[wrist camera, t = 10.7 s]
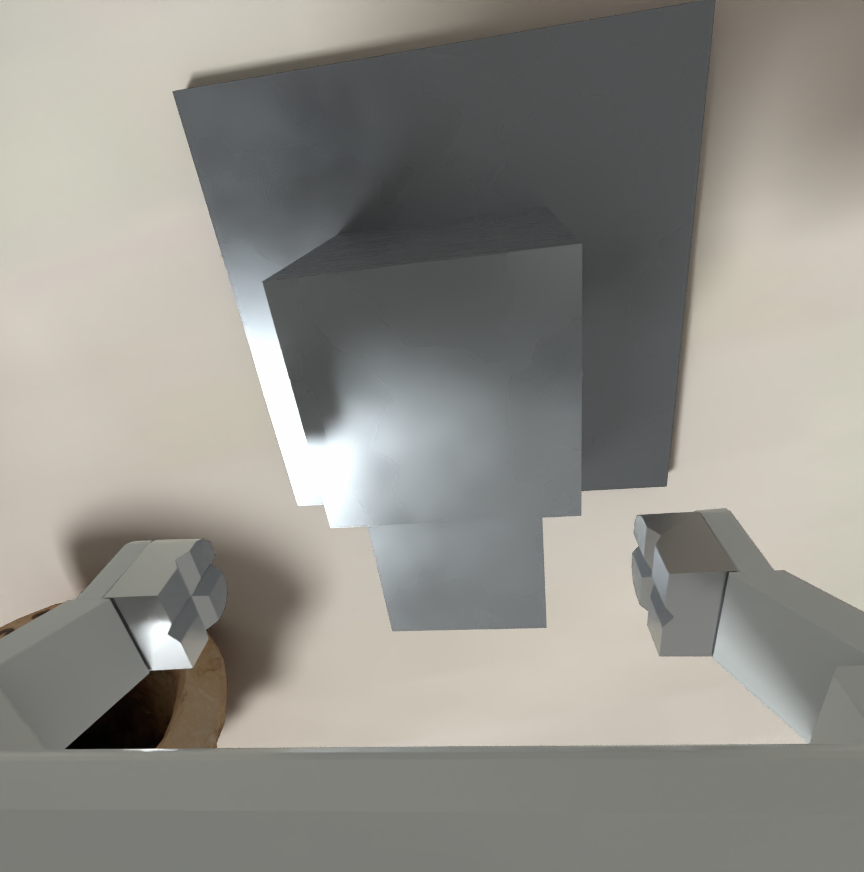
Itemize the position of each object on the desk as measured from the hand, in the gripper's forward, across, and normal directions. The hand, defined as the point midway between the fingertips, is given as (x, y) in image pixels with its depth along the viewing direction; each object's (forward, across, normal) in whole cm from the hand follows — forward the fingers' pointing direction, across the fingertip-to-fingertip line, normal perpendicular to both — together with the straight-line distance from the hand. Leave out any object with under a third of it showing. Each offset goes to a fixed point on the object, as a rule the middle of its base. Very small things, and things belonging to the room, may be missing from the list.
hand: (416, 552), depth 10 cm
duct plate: (+9, -1, -2) cm, 10 cm away
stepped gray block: (+9, -1, 0) cm, 9 cm away
